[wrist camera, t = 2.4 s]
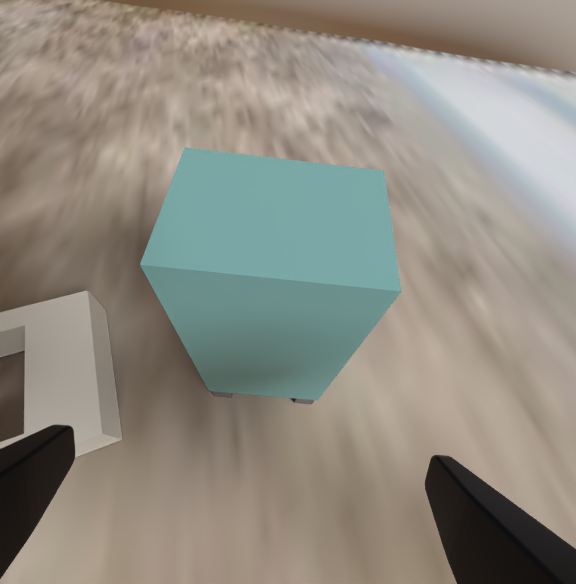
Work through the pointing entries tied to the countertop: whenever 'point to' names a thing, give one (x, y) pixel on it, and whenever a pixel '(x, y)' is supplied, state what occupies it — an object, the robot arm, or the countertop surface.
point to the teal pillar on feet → (272, 269)
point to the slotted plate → (65, 368)
